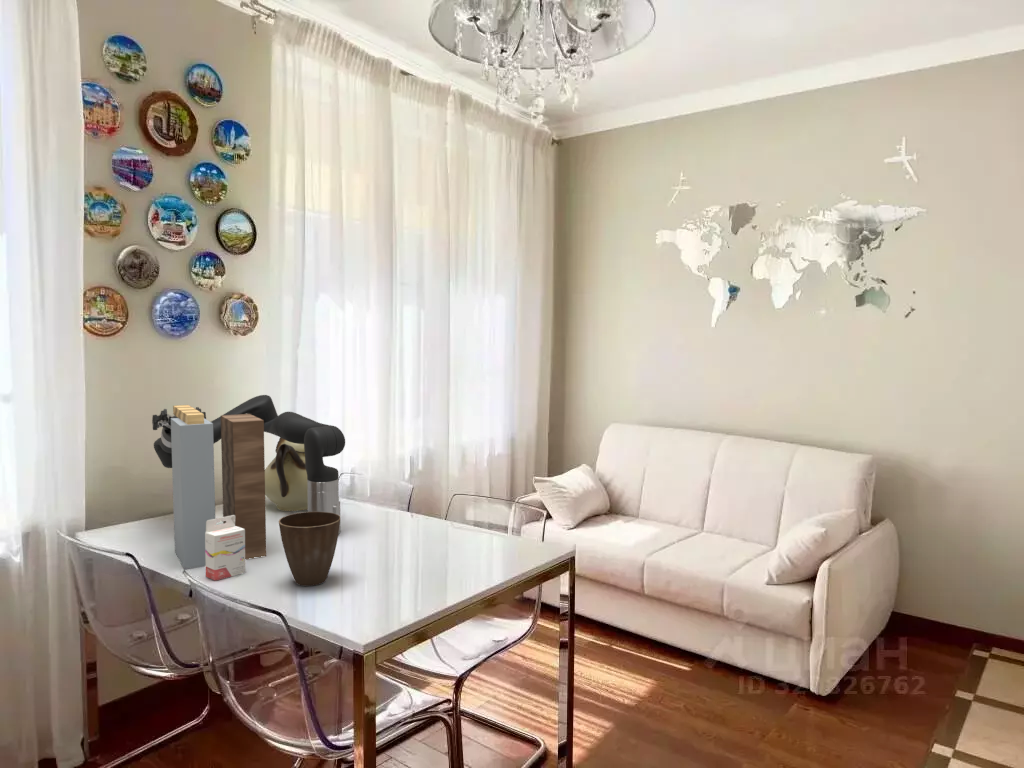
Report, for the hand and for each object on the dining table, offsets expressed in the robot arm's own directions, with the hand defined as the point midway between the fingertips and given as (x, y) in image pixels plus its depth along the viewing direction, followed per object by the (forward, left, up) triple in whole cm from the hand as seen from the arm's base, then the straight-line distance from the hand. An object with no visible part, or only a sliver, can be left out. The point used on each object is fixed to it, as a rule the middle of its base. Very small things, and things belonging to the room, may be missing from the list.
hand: (182, 410), depth 209 cm
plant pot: (-43, +31, -39) cm, 66 cm away
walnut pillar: (-19, +6, -39) cm, 44 cm away
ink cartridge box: (-20, +26, -39) cm, 51 cm away
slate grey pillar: (-7, +13, -39) cm, 42 cm away
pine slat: (-5, +8, -1) cm, 10 cm away
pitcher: (-21, -42, -39) cm, 61 cm away
